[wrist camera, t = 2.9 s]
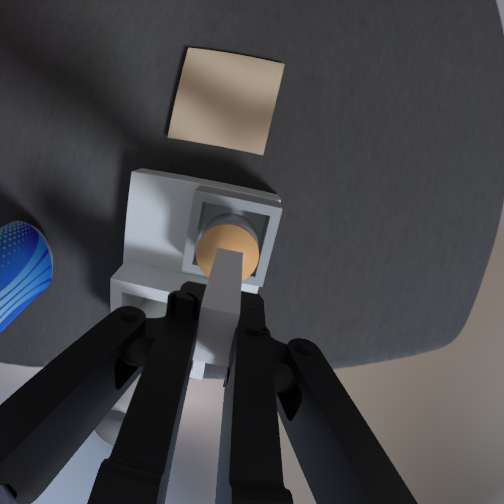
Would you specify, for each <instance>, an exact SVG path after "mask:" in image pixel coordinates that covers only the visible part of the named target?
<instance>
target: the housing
mask: <svg viewBox="0 0 504 504" xmlns="http://www.w3.org/2000/svg"><path fill="white" fill-rule="evenodd" d="M280 201H281V200H280V198H279V196H278V194H274V193H269V192H265V191H260V190H256V189H251V188H246V187H242V186H237V185H232V184H227V183H222V182H217V181H212V180H207V179H202V178H196V177H191V176H186V175H180V174H174V173H169V172H163V171H157V170H151V169H145V168H141V169H138V170H135V171H132V173H131V181H130V189H129V197H128V206H127V216H126V227H125V240H124V256H123V264H122V266H121V267H120V268H119V269H118V270H117V271H116V272H115V274H114V275H113V276H112V277H111V278H110V306H111V312H113V311H114V310H115V309H117V308H119V307H122V306H133V307H137V308H138V307H139V306H140V304H141V302H142V300H143V299H144V298H148V299H152V300H156V301H161V302H165V303H167V299H168V295H169V294H170V293H171V292H173V291H176V290H180V288H181V286H182V284H184V283H185V282H187V281H192V282H197V283H201V284H206V285H207V282H208V277H207V276H206V275H205V274H204V273H203V272H202V271H201V269H200V268H199V266H198V263H197V260H196V248H197V244H198V242H199V239H200V237H201V235H202V233H203V231H204V229H205V227H206V225H207V224H208V222H209V221H210V220H211V219H213V218H214V217H216V216H218V215H220V214H224V213H235V214H239V215H241V216H243V217H245V218H247V219H248V220H249V221H250V222H251V223H252V224H253V226H254V227H255V229H256V232H257V236H258V248H259V260H258V264H257V267H256V269H255V270H254V272H253V273H252V274H251V275H250V276H249V277H248V278H246V279H245V280H243V281H242V284H241V291H245V292H250V293H255V294H257V291H258V287H262V286H263V282H264V278H265V274H266V271H267V267H268V263H269V259H270V255H271V252H272V248H273V244H274V240H275V236H276V232H277V229H278V225H279V221H280V217H281V213H282V206H281V204H280ZM204 367H205V362H200V361H195V360H193V361H192V368H191V372H190V377H189V378H194V379H199V380H202V378H203V373H204Z"/></svg>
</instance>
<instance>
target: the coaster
mask: <svg viewBox="0 0 504 504" xmlns="http://www.w3.org/2000/svg"><path fill="white" fill-rule="evenodd" d="M284 65H285V64H282V63H277V62H273V61H268V60H264V59H259V58H254V57H249V56H244V55H238V54H232V53H226V52H219V51H212V50H205V49H196V48H188V51H187V55H186V59H185V62H184V66H183V70H182V74H181V78H180V82H179V86H178V91H177V95H176V99H175V104H174V108H173V113H172V118H171V123H170V127H169V133H168V138H174V139H181V140H187V141H193V142H199V143H204V144H210V145H215V146H221V147H226V148H231V149H236V150H241V151H245V152H250V153H255V154H259V155H263V154H264V149H265V145H266V141H267V136H268V132H269V128H270V124H271V119H272V115H273V111H274V107H275V103H276V98H277V94H278V90H279V86H280V82H281V78H282V73H283V69H284Z"/></svg>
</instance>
